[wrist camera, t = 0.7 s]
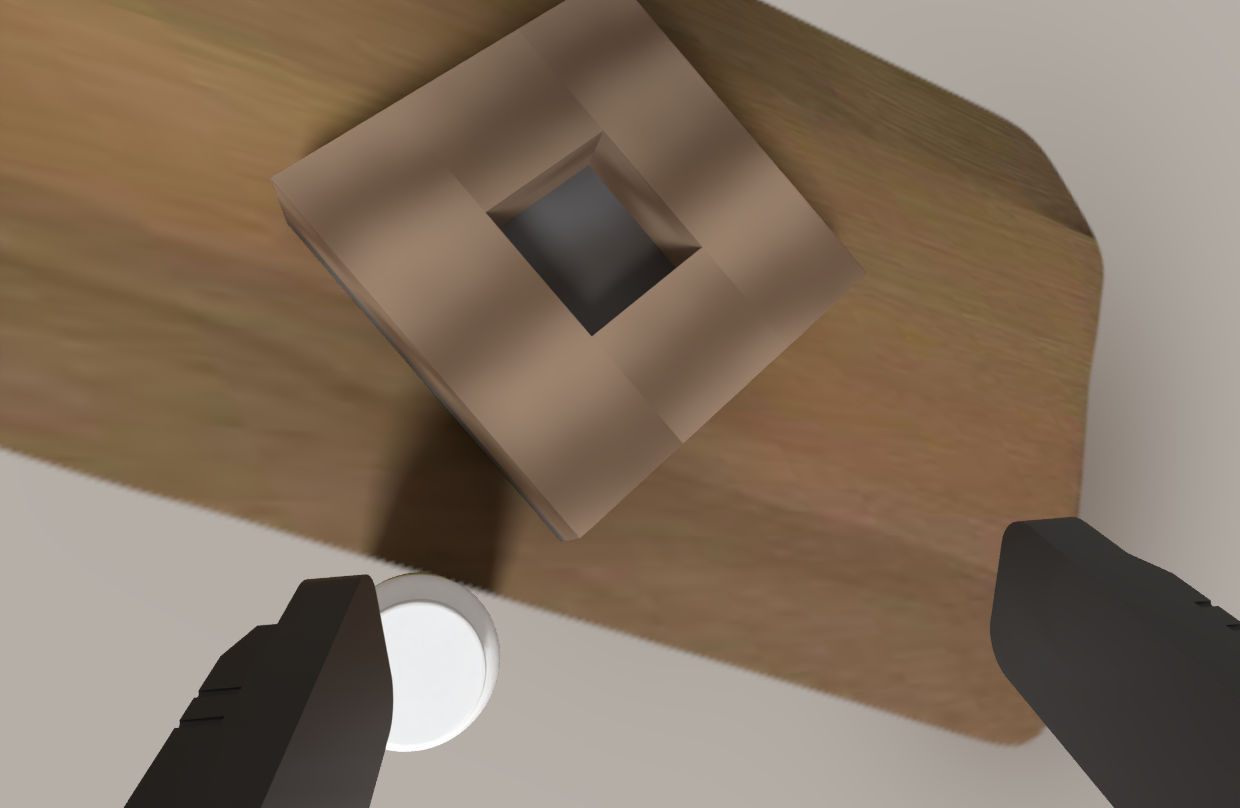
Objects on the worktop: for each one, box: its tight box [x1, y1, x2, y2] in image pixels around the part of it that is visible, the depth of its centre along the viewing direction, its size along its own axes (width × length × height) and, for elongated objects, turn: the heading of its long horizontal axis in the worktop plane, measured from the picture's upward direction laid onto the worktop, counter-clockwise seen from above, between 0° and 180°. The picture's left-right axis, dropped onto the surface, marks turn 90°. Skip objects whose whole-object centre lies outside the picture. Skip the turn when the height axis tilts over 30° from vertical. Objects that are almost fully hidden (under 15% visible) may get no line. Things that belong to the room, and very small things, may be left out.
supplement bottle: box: [375, 573, 500, 752], centre depth 26 cm, size 5×5×10 cm
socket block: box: [271, 0, 867, 541], centre depth 34 cm, size 18×18×4 cm
